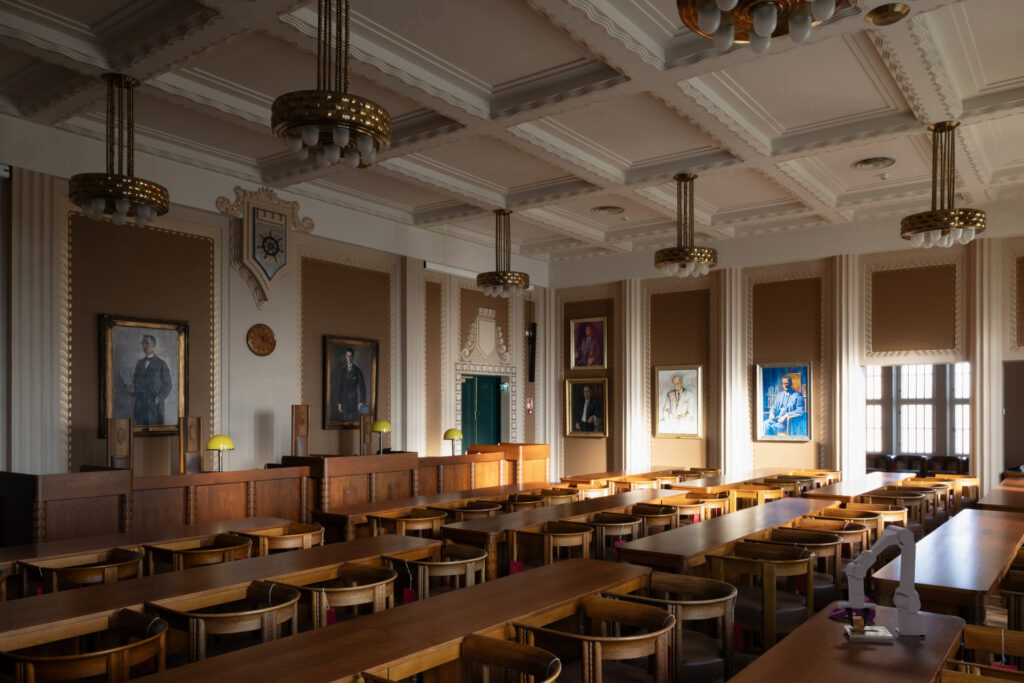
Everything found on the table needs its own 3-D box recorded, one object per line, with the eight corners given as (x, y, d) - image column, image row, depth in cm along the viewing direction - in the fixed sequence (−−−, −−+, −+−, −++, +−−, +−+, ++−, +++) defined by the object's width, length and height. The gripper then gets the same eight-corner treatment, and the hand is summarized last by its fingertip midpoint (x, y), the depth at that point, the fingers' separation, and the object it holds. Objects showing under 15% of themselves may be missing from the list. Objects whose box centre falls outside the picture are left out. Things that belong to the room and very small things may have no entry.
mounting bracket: (841, 634, 345) (879, 617, 342) (831, 616, 346) (869, 599, 343) (835, 627, 354) (873, 611, 352) (826, 610, 355) (863, 593, 353)
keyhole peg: (862, 635, 324) (861, 616, 324) (864, 638, 320) (863, 619, 320) (851, 634, 325) (851, 616, 325) (854, 637, 321) (853, 619, 321)
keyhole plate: (884, 634, 326) (884, 626, 326) (893, 643, 314) (892, 636, 314) (844, 632, 329) (843, 625, 329) (850, 642, 317) (850, 634, 317)
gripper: (872, 590, 325) (874, 623, 325) (835, 589, 328) (837, 622, 327) (877, 595, 319) (878, 629, 318) (839, 594, 321) (840, 628, 321)
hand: (857, 626), depth 322 cm, fingers closed on keyhole peg, 4 cm apart
